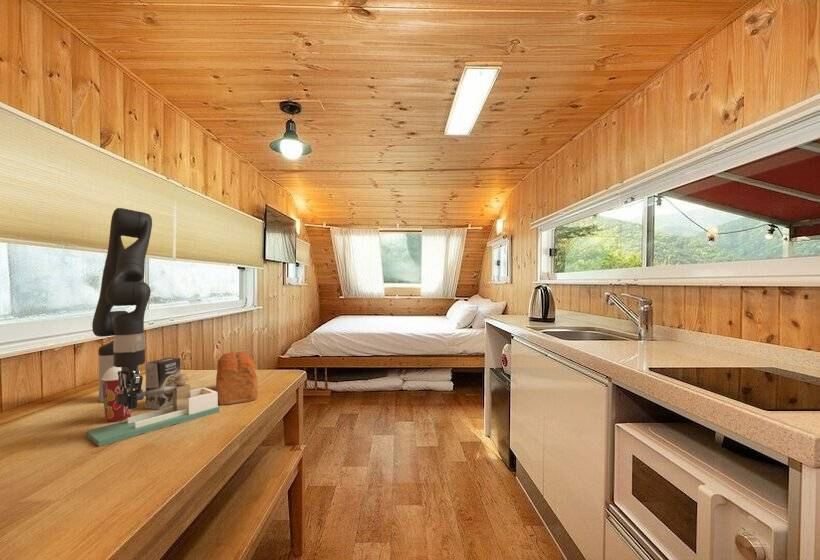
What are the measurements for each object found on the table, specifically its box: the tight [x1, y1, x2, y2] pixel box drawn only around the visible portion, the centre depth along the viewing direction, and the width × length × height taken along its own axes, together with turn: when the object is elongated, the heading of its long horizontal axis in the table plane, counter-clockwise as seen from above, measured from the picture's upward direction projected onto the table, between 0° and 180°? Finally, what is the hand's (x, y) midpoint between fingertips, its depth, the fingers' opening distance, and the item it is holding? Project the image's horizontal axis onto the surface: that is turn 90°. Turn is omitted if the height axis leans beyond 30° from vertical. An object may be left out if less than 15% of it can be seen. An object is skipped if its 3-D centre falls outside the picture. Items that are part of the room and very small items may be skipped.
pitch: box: [85, 387, 220, 447], centre depth 116 cm, size 12×32×6 cm, turn 143°
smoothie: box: [101, 366, 133, 423], centre depth 120 cm, size 8×8×20 cm
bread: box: [215, 351, 259, 406], centre depth 145 cm, size 14×27×15 cm, turn 28°
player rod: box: [116, 373, 191, 412], centre depth 115 cm, size 4×19×12 cm, turn 143°
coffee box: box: [145, 357, 181, 410], centre depth 133 cm, size 9×6×16 cm
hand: (130, 406), depth 110 cm, fingers closed on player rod, 3 cm apart
